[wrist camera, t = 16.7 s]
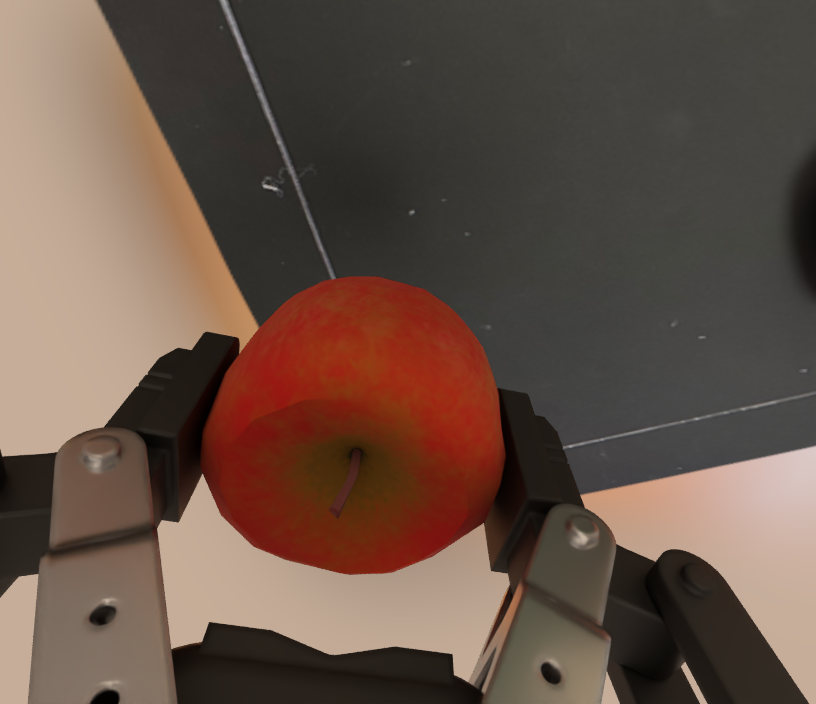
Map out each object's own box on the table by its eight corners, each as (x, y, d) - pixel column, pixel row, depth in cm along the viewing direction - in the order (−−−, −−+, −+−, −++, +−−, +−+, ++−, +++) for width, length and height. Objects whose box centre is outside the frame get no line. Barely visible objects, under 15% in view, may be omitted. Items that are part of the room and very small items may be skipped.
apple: (463, 207, 14) (508, 352, 7) (484, 389, 17) (528, 600, 11) (243, 245, 14) (108, 407, 8) (303, 414, 18) (241, 627, 11)
